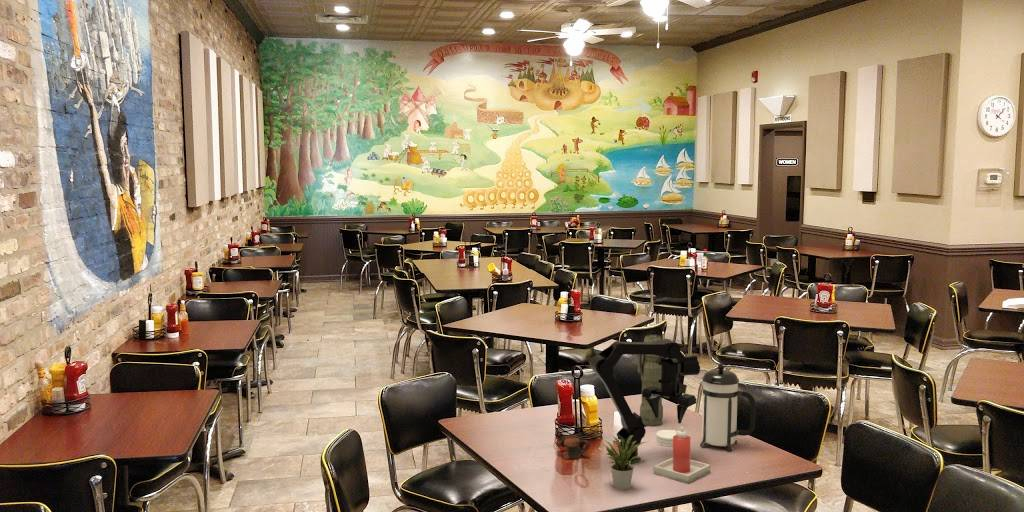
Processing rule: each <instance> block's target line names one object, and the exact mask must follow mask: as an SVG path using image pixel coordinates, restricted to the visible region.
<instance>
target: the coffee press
mask: <svg viewBox="0 0 1024 512" xmlns="http://www.w3.org/2000/svg"><path fill="white" fill-rule="evenodd" d="M701 378H702V379H701V380H700V381H699V382H698V384H699V385H701V386H702V418H701V419H702V420H701V421H702V422H701V423H702V425H701V428H702V429H701V438H702V441H701V442H700V445H699V446H700V447H701V448H703V449H705V448H706V447H707V446H708V445H711V446H716V447H724V448H725V449H726V451H727V452H733V447H732V445H736V444H737V443H738V440H737V436H741V437H745V436H749V435H751V434H752V433H753V432H754V430H755V428H756V419H757V418H756V415H757V412H756V411H757V405H756V399H755V397H754V396H753V394H751V393H750V392H747V391H746V390H742V391H741V390H739V389H738V388H739V382H740V379H739V377H738V376H737V374H736V373H735V372H733V371H730V370H727V369H725V366H724V364H722V363H721V364H718V365H717V369H711V370H708V371H706V372H704V374H703V376H702V377H701ZM738 397H743V398H744V397H745V398H747V400H748V401H749V403H750V413H749V415H750V416H749V427H748V429H747V430H741V429H740V430H739V429H738V428H737V423H738V421H737V420H738V419H737V416H738Z"/></svg>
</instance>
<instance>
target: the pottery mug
mask: <svg viewBox="0 0 1024 512" xmlns="http://www.w3.org/2000/svg"><path fill="white" fill-rule="evenodd" d="M584 445H585V447H584ZM556 447H566V449H567V451H564V452H563V453H562V456H563V459H564V460H569V459H574V460H575V459H577V460H578V459H580V457H581V456H583V455H584V454H585V453H587V452H588V451H589V449H590V447H591V444H590V441H589V440H587V439H580V436H579V435H576V434H575V435H574V434H573V435H569V434H568V435H563V436H560V437H558V442H557V444H556Z"/></svg>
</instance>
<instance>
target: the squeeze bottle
mask: <svg viewBox="0 0 1024 512" xmlns="http://www.w3.org/2000/svg"><path fill="white" fill-rule="evenodd" d="M675 431H676V435H675V436H673V447H672V458H673V470H674V471H675V472H679V473H687V472H689V471H690V460H691V437H690V436H689V435H688V430H685V429H684V426H682V425H681V426H680V429H678V430H675Z"/></svg>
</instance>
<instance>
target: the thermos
mask: <svg viewBox="0 0 1024 512" xmlns="http://www.w3.org/2000/svg"><path fill="white" fill-rule="evenodd" d="M658 340H663V339H662V336H660V335H659V334H647V335H645V336H644V339H643V342H655V341H658ZM659 357H661V356H658V355H646V354H637V373H638V374H639V375H640V380H641V392H642V391H643V389H644V388H647V387H650V386H652V387H656V388H659V389H660V386H661V383H659V382H658V381H659V379H661V365H658V364H657V363H655V361H656V360H657V359H658V358H659ZM662 358H663V359H668V358H665V357H662ZM639 416H640V417H641V419H642V422H643V424H644V425H645V426H646V427H652V428H653V427H660V426H662V425H663V418H664V407H663V398H662V397H660V400H659V415H658V418H656V417H655V415H654V413H653V411H652V409H651V407H650V405H649V403H648V401H647V400H645V397H642V396H641V404H640V406H639Z"/></svg>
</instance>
